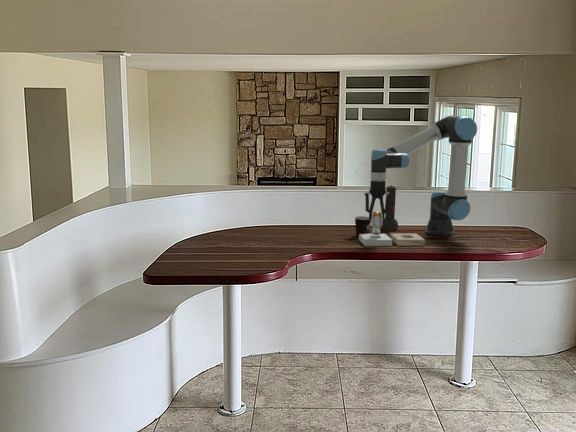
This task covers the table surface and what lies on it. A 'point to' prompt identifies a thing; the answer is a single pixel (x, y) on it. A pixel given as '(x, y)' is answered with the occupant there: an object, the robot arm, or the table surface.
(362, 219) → the coffee mug
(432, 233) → the robot arm
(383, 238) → the mount block
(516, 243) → the table surface
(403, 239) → the block
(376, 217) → the pin
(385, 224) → the flashlight
